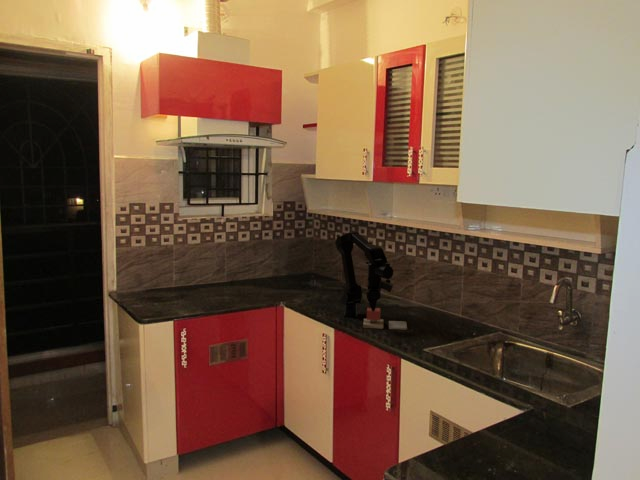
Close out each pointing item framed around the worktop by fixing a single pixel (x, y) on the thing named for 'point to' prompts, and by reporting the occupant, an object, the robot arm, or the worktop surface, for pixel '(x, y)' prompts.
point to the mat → (397, 325)
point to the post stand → (373, 324)
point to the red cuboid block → (373, 314)
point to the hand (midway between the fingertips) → (373, 308)
